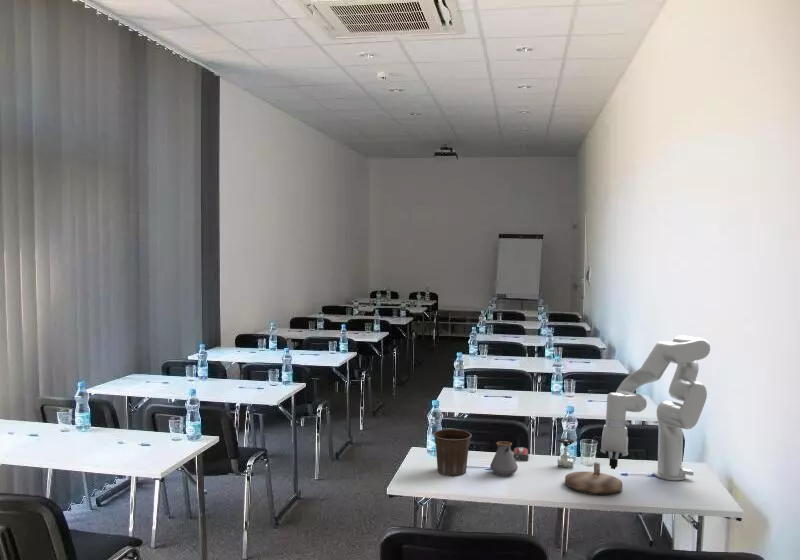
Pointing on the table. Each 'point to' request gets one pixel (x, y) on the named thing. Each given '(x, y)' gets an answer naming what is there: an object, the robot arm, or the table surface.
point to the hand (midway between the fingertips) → (613, 468)
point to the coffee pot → (504, 460)
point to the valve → (565, 454)
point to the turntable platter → (593, 481)
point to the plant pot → (452, 451)
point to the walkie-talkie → (520, 453)
